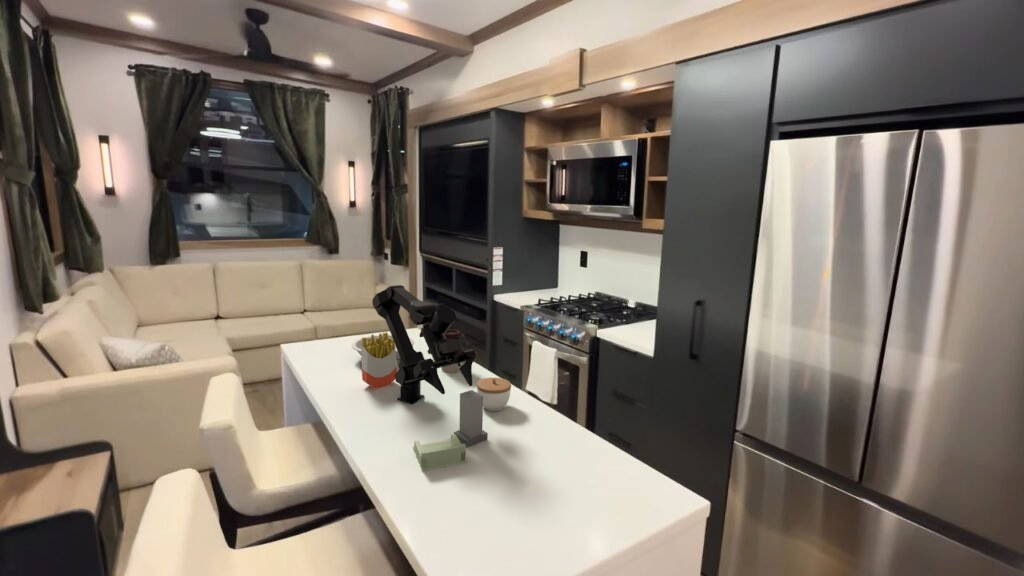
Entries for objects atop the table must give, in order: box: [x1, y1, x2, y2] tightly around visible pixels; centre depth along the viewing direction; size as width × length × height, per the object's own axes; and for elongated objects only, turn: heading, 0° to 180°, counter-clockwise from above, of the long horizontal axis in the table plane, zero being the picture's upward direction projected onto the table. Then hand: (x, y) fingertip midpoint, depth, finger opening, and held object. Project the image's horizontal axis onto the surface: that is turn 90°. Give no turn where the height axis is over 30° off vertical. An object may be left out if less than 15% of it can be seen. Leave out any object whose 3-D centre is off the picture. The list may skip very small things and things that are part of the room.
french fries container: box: [361, 331, 398, 390], centre depth 161 cm, size 5×11×18 cm, turn 129°
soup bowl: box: [351, 334, 415, 360], centre depth 189 cm, size 24×24×7 cm
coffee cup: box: [441, 329, 466, 373], centre depth 178 cm, size 10×10×15 cm
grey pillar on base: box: [453, 389, 489, 449], centre depth 127 cm, size 6×7×13 cm
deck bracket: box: [412, 433, 467, 472], centre depth 119 cm, size 11×11×4 cm
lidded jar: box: [476, 377, 512, 412], centre depth 148 cm, size 11×11×9 cm
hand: (458, 389), depth 130 cm, fingers open, 9 cm apart
